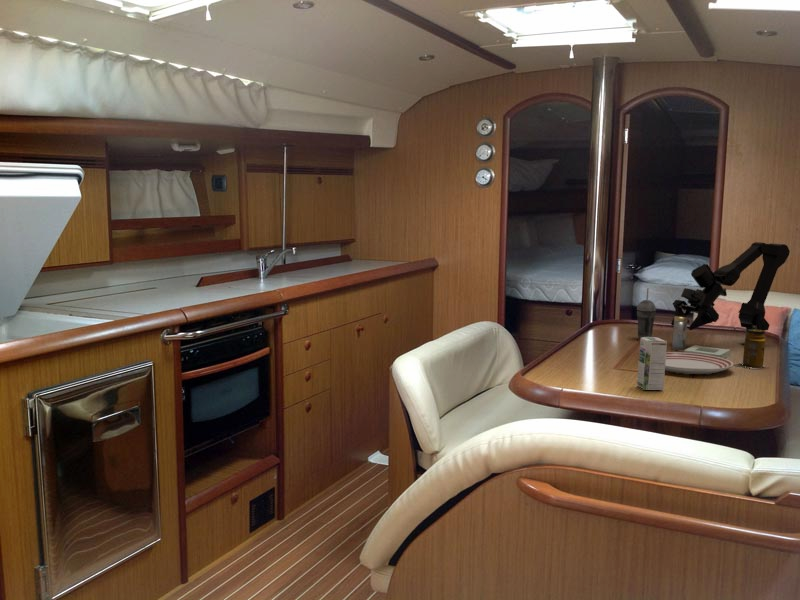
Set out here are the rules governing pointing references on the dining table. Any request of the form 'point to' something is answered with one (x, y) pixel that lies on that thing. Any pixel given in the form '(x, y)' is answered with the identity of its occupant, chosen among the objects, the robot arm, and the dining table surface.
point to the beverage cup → (645, 317)
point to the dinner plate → (695, 363)
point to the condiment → (753, 349)
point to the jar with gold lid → (679, 333)
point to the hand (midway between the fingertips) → (680, 327)
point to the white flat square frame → (708, 351)
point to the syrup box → (651, 363)
